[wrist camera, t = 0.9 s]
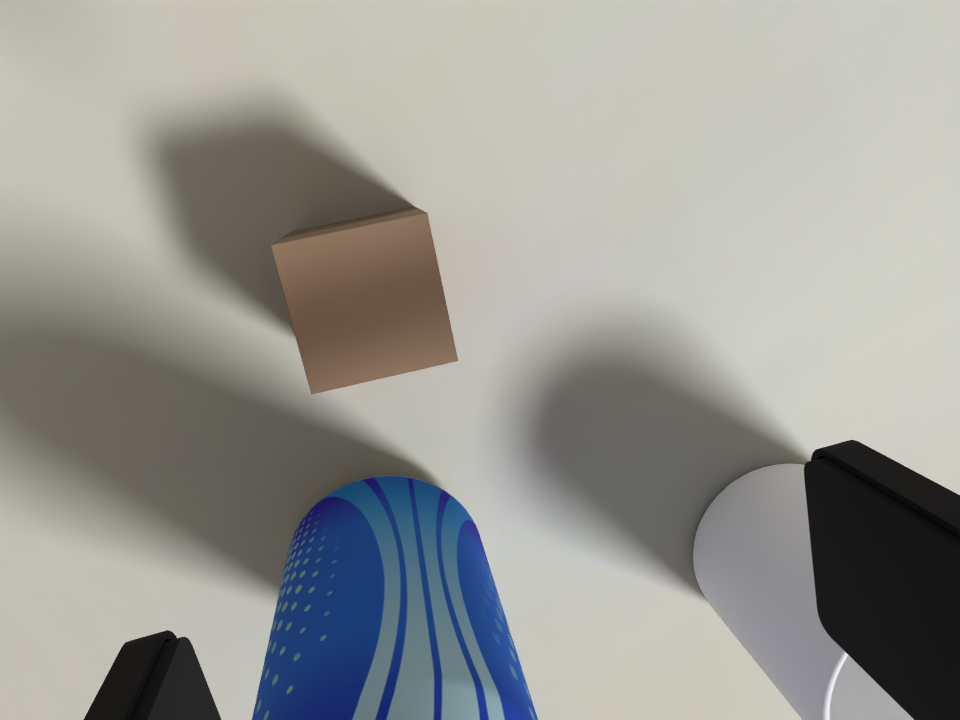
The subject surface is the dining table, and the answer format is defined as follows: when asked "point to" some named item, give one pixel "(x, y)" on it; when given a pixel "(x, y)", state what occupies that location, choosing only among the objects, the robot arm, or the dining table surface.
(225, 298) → the dining table surface
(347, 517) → the beer can
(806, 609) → the mug
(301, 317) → the walnut block
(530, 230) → the dining table surface
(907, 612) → the robot arm
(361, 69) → the dining table surface
